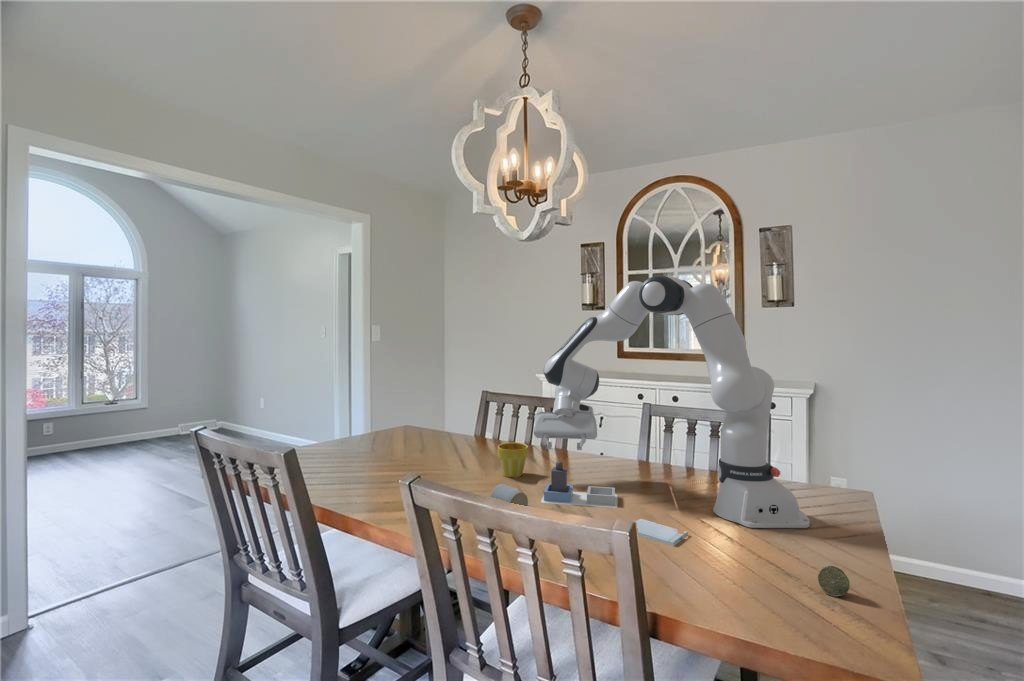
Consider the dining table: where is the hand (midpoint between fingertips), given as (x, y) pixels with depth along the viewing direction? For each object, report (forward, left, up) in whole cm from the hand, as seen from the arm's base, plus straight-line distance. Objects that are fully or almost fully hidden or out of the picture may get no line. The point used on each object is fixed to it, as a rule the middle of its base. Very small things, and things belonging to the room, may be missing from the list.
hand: (564, 448), depth 157 cm
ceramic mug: (+11, +25, -12) cm, 30 cm away
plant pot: (+18, -10, -12) cm, 24 cm away
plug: (0, +12, -11) cm, 16 cm away
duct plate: (-6, +12, -12) cm, 18 cm away
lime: (-56, +53, -12) cm, 78 cm away
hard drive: (-25, +31, -13) cm, 42 cm away
